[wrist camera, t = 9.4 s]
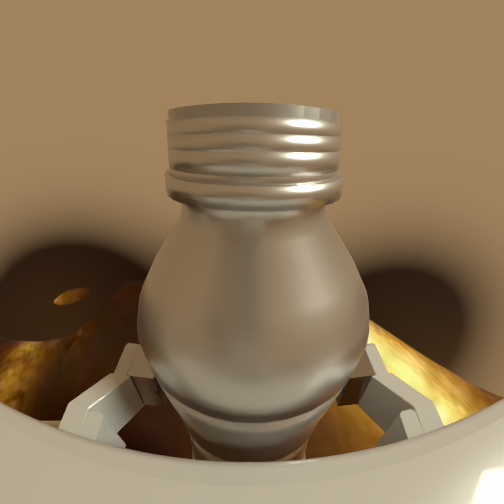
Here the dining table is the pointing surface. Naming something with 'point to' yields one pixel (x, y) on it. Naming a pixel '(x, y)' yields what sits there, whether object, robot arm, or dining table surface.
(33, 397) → the dining table surface
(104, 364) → the dining table surface
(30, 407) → the dining table surface
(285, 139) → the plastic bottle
